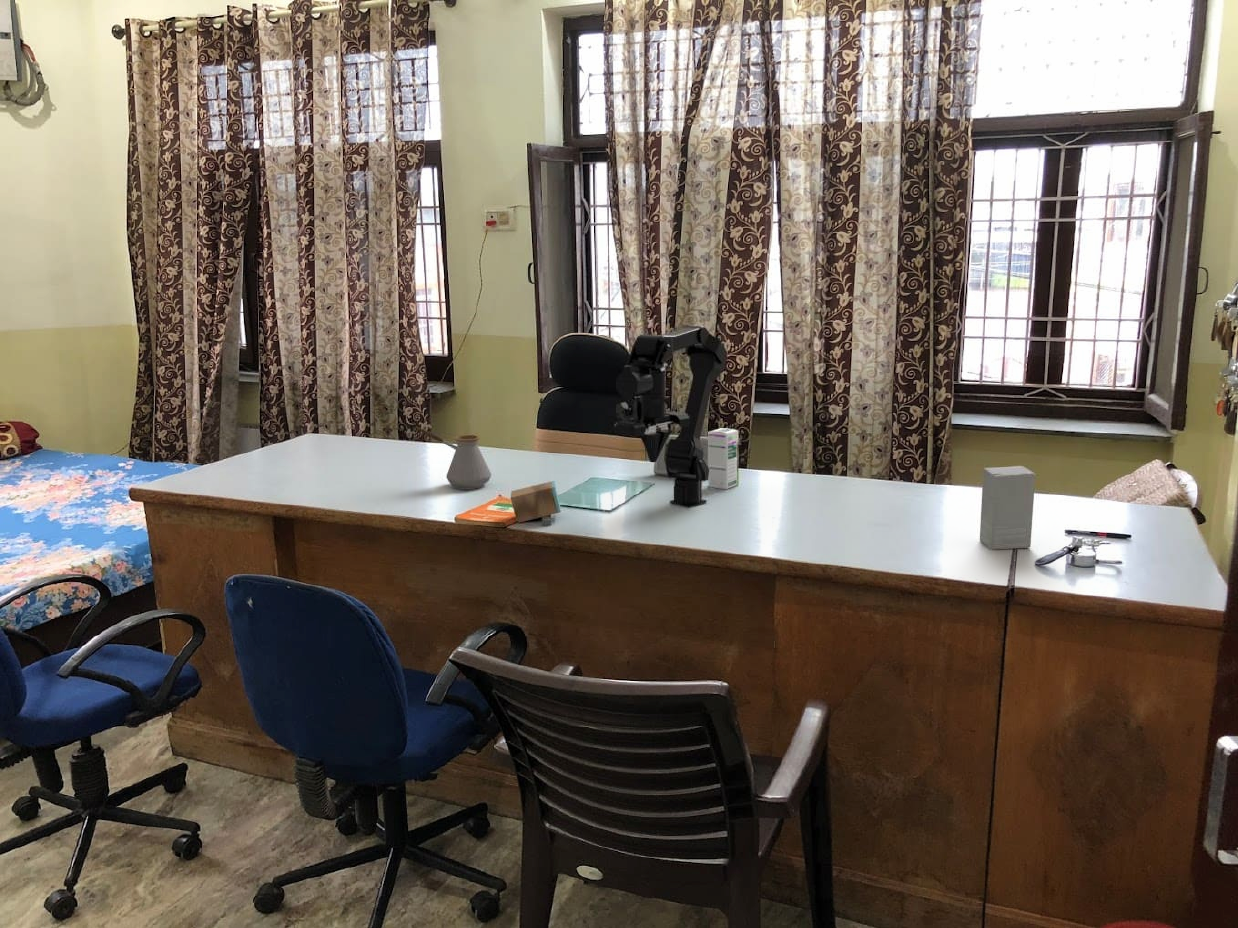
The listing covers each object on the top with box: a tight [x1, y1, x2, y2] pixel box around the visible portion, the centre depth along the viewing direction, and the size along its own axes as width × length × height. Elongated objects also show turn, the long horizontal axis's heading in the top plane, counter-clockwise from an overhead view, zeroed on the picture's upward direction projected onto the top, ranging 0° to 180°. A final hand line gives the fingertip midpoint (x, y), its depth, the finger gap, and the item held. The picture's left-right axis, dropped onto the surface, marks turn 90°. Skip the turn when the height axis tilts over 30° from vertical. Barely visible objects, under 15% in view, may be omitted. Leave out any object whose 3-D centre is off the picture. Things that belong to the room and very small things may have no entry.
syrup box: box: [707, 427, 740, 490], centre depth 248 cm, size 6×6×14 cm
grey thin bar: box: [541, 515, 552, 527], centre depth 222 cm, size 2×12×1 cm, turn 4°
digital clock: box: [653, 434, 708, 477], centre depth 261 cm, size 16×9×11 cm, turn 57°
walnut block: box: [510, 480, 561, 523], centre depth 222 cm, size 6×6×10 cm
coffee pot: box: [412, 426, 492, 490], centre depth 254 cm, size 21×12×15 cm, turn 69°
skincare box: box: [979, 465, 1037, 551], centre depth 196 cm, size 8×7×16 cm
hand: (653, 461), depth 218 cm, fingers closed
